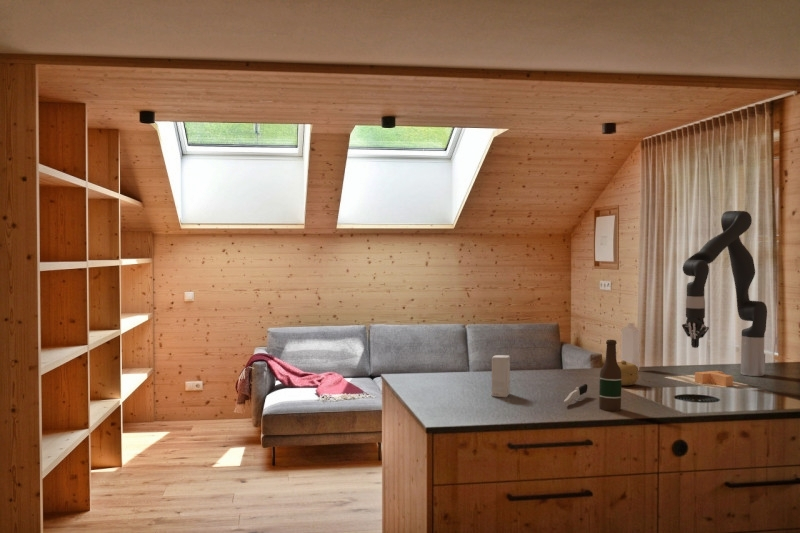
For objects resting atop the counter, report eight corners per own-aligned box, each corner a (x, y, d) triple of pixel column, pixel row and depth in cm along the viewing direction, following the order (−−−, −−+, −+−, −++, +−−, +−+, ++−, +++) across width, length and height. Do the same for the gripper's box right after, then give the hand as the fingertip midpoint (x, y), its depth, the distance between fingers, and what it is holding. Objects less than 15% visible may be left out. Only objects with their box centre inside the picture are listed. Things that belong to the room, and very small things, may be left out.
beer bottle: (595, 406, 255) (596, 338, 254) (616, 406, 255) (618, 338, 255) (603, 411, 247) (604, 341, 246) (625, 411, 248) (626, 341, 247)
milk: (639, 371, 332) (640, 323, 331) (632, 372, 328) (633, 323, 327) (627, 369, 336) (628, 321, 336) (620, 370, 332) (621, 322, 331)
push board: (698, 376, 318) (698, 374, 318) (748, 387, 295) (749, 384, 295) (664, 379, 310) (664, 377, 310) (713, 390, 286) (713, 388, 286)
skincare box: (506, 397, 268) (507, 357, 267) (490, 396, 270) (491, 356, 269) (510, 393, 276) (511, 354, 275) (494, 392, 278) (495, 353, 277)
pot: (626, 381, 304) (627, 357, 304) (644, 386, 293) (644, 362, 293) (602, 382, 301) (603, 358, 301) (619, 388, 290) (619, 363, 289)
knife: (565, 408, 251) (566, 394, 251) (561, 407, 252) (561, 393, 252) (588, 396, 272) (588, 383, 272) (583, 395, 273) (583, 382, 273)
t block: (716, 380, 304) (716, 370, 304) (739, 385, 293) (740, 375, 293) (694, 382, 300) (695, 372, 299) (718, 387, 289) (718, 377, 288)
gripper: (714, 307, 302) (714, 348, 303) (689, 305, 315) (689, 344, 315) (701, 308, 299) (700, 350, 300) (676, 305, 311) (676, 346, 312)
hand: (695, 347), depth 308 cm, fingers closed
